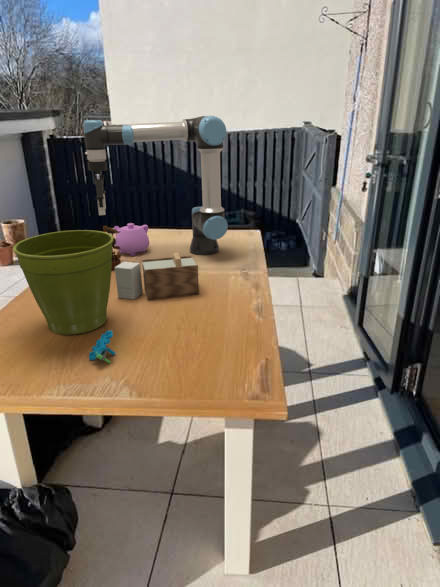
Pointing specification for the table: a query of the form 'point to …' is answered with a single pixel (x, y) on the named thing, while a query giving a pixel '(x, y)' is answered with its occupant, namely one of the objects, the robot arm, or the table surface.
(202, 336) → the table surface
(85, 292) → the plant pot
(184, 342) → the table surface
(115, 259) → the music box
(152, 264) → the lid
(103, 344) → the blue angular piece
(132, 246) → the pink piggy bank
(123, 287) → the supplement box
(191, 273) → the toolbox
